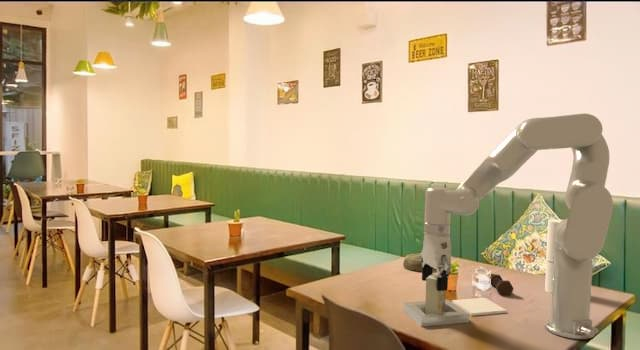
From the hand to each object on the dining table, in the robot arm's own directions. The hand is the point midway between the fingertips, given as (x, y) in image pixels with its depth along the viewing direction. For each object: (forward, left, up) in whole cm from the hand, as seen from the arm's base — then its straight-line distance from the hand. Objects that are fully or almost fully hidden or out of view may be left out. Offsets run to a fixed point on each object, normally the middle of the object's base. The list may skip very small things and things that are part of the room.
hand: (434, 285), depth 145 cm
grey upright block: (0, 0, -10) cm, 10 cm away
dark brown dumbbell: (+20, -35, -10) cm, 41 cm away
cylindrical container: (+13, -53, -10) cm, 56 cm away
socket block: (0, 0, -10) cm, 10 cm away
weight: (+52, -19, -10) cm, 56 cm away
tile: (+4, -17, -10) cm, 20 cm away
